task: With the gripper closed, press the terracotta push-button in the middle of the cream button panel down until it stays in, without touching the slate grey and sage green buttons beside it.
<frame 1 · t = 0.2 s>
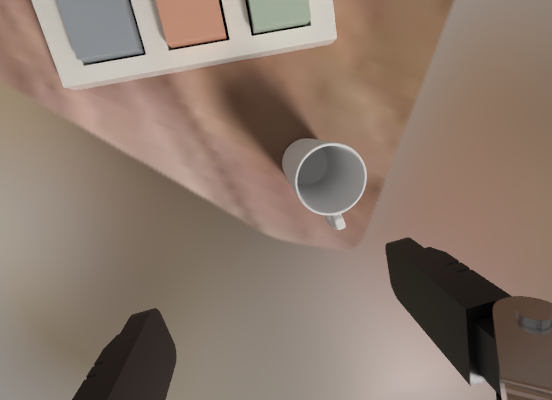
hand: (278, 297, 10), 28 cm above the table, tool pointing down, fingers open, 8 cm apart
mug: (308, 173, 38), on the table
grey button: (101, 23, 29), point 3 cm above the table, slide at 0.0 cm
terracotta button: (190, 8, 29), point 3 cm above the table, slide at 0.0 cm
button panel: (195, 18, 32), on the table
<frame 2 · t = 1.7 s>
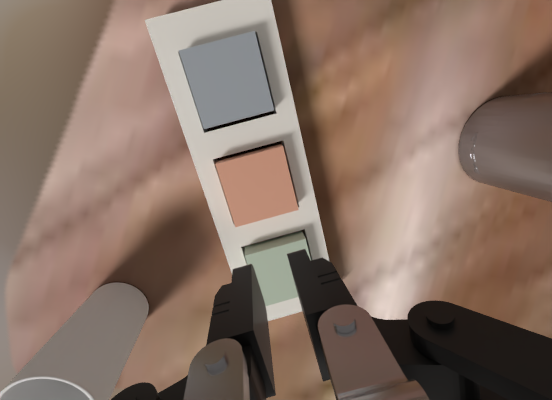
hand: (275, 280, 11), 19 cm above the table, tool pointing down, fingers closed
mug: (107, 310, 32), on the table
grey button: (229, 83, 23), point 3 cm above the table, slide at 0.0 cm
green button: (281, 268, 29), point 3 cm above the table, slide at 0.0 cm
terracotta button: (258, 185, 26), point 3 cm above the table, slide at 0.0 cm
button panel: (256, 178, 29), on the table
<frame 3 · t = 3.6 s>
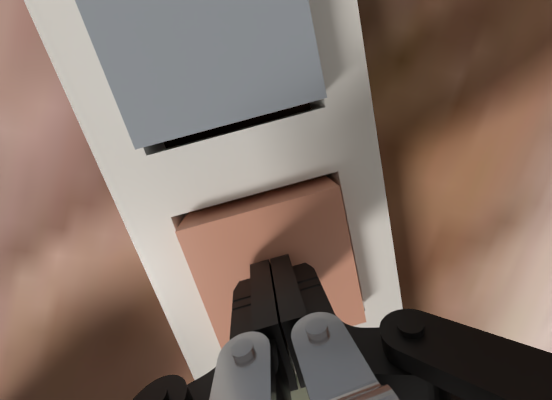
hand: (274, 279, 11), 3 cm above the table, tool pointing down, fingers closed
grey button: (204, 24, 9), point 3 cm above the table, slide at 0.0 cm
terracotta button: (276, 267, 12), point 2 cm above the table, slide at 0.6 cm, touching gripper
button panel: (271, 242, 14), on the table
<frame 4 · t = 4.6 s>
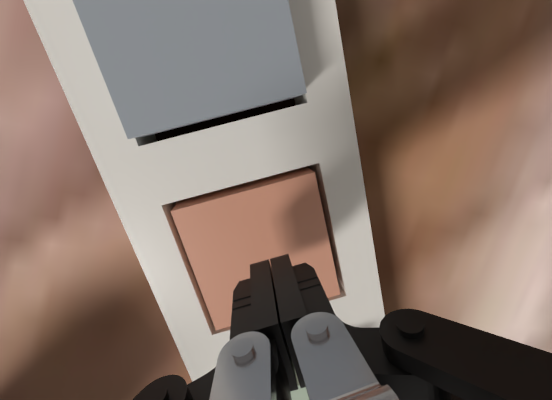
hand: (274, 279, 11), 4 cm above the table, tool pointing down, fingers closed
grey button: (193, 23, 9), point 3 cm above the table, slide at 0.0 cm
terracotta button: (260, 246, 13), point 2 cm above the table, slide at 1.4 cm
button panel: (258, 232, 15), on the table
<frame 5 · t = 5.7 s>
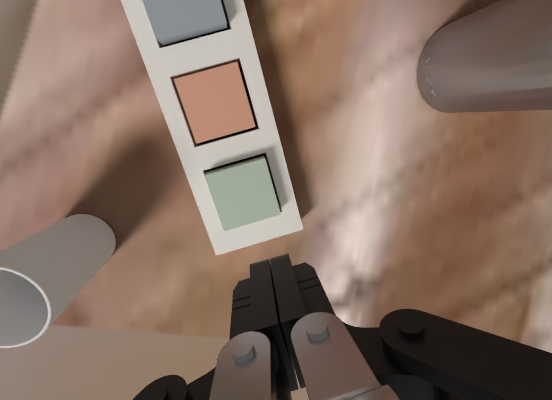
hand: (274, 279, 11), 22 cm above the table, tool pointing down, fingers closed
mug: (74, 244, 32), on the table
green button: (244, 193, 29), point 3 cm above the table, slide at 0.0 cm
terracotta button: (217, 104, 28), point 2 cm above the table, slide at 1.4 cm
button panel: (218, 105, 29), on the table
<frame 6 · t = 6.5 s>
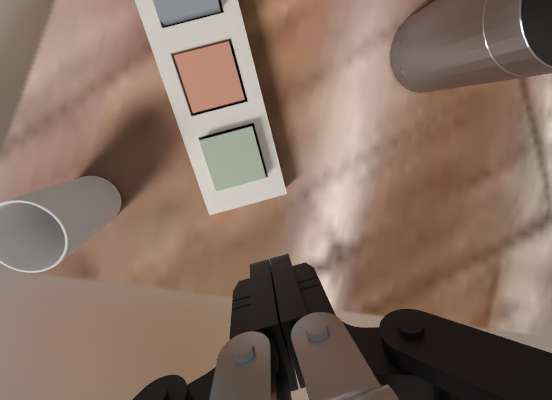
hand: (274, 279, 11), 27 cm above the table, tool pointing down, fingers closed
mug: (85, 204, 36), on the table
green button: (234, 158, 33), point 3 cm above the table, slide at 0.0 cm
terracotta button: (211, 79, 32), point 2 cm above the table, slide at 1.4 cm
button panel: (213, 81, 33), on the table
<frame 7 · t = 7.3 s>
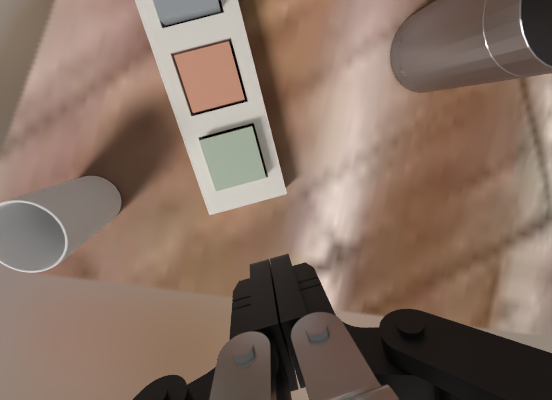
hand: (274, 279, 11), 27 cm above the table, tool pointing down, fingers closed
mug: (85, 203, 36), on the table
green button: (234, 158, 33), point 3 cm above the table, slide at 0.0 cm
terracotta button: (211, 79, 32), point 2 cm above the table, slide at 1.4 cm
button panel: (213, 81, 33), on the table
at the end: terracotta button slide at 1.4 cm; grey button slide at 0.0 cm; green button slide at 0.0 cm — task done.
